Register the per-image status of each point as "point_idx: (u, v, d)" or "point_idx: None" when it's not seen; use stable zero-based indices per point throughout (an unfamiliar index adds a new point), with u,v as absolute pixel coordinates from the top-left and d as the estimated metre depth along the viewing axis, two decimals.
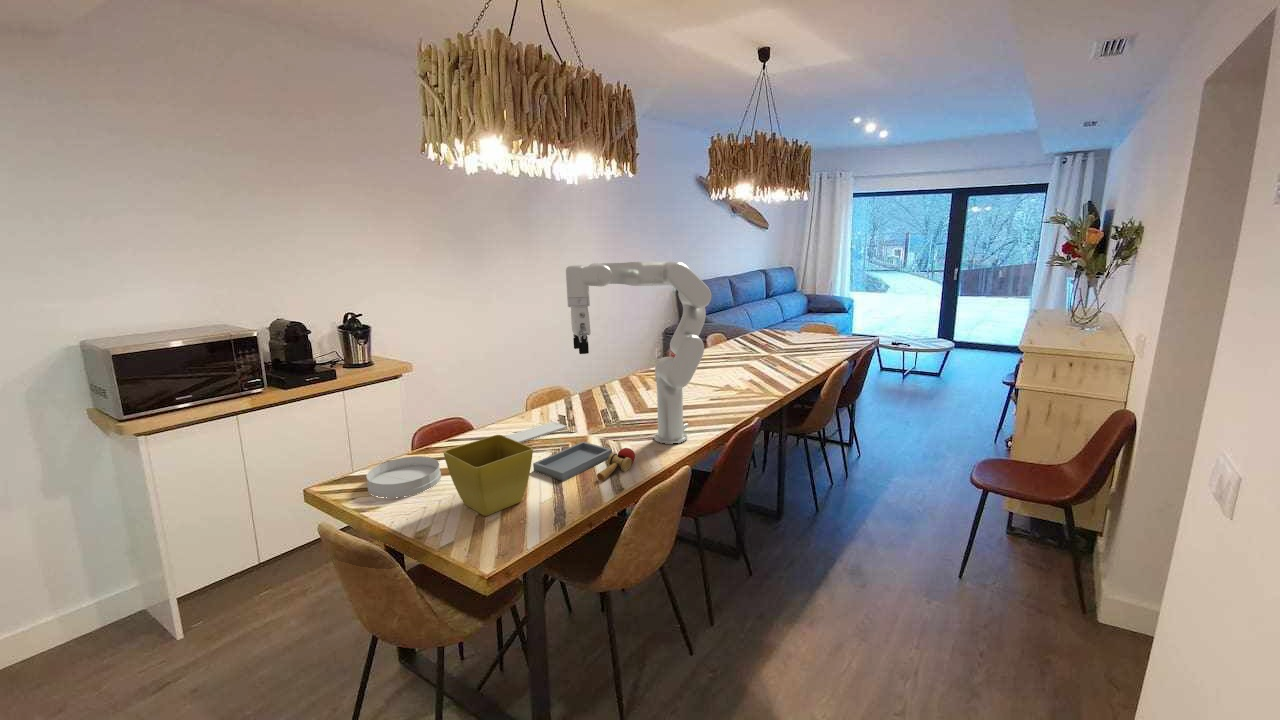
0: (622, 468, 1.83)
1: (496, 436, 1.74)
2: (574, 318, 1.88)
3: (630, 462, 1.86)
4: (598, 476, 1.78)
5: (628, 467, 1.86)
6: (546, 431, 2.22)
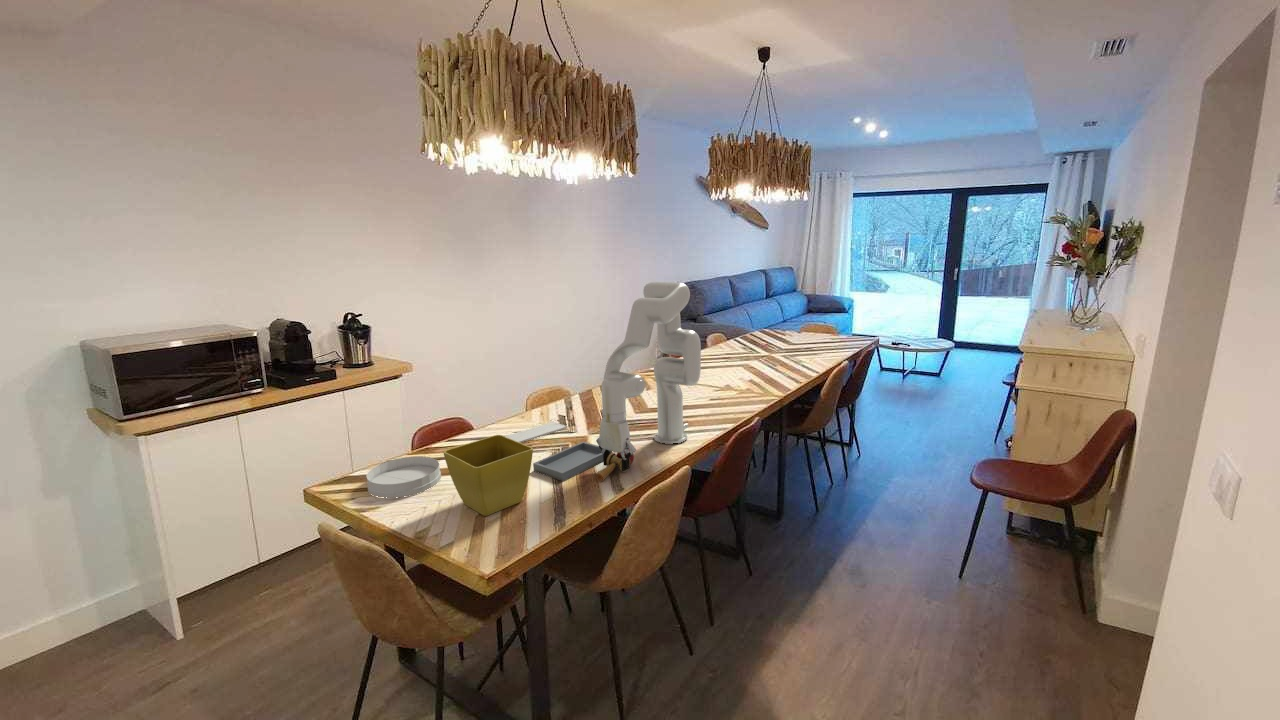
0: (621, 468, 1.82)
1: (496, 436, 1.74)
2: None
3: (629, 462, 1.85)
4: (597, 476, 1.77)
5: None
6: (546, 431, 2.22)
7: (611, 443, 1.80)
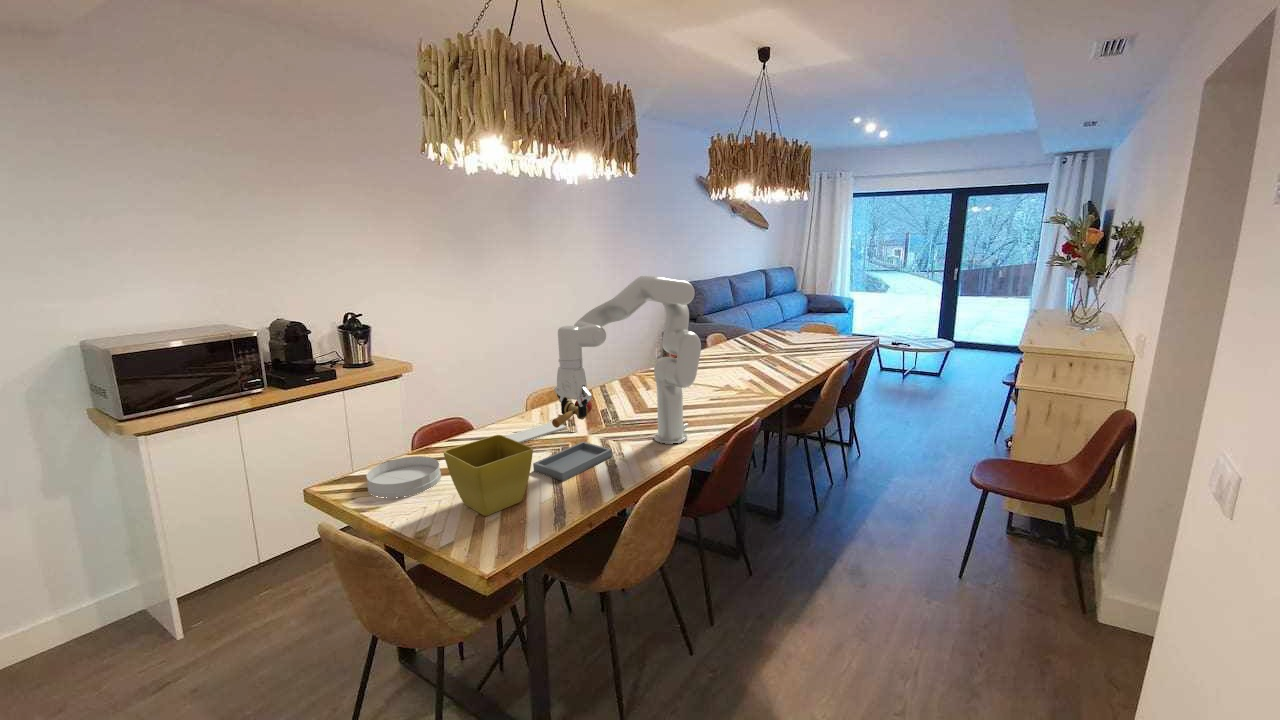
0: (578, 415, 1.85)
1: (496, 436, 1.74)
2: None
3: (586, 410, 1.88)
4: (553, 422, 1.80)
5: None
6: (546, 431, 2.21)
7: (568, 390, 1.82)
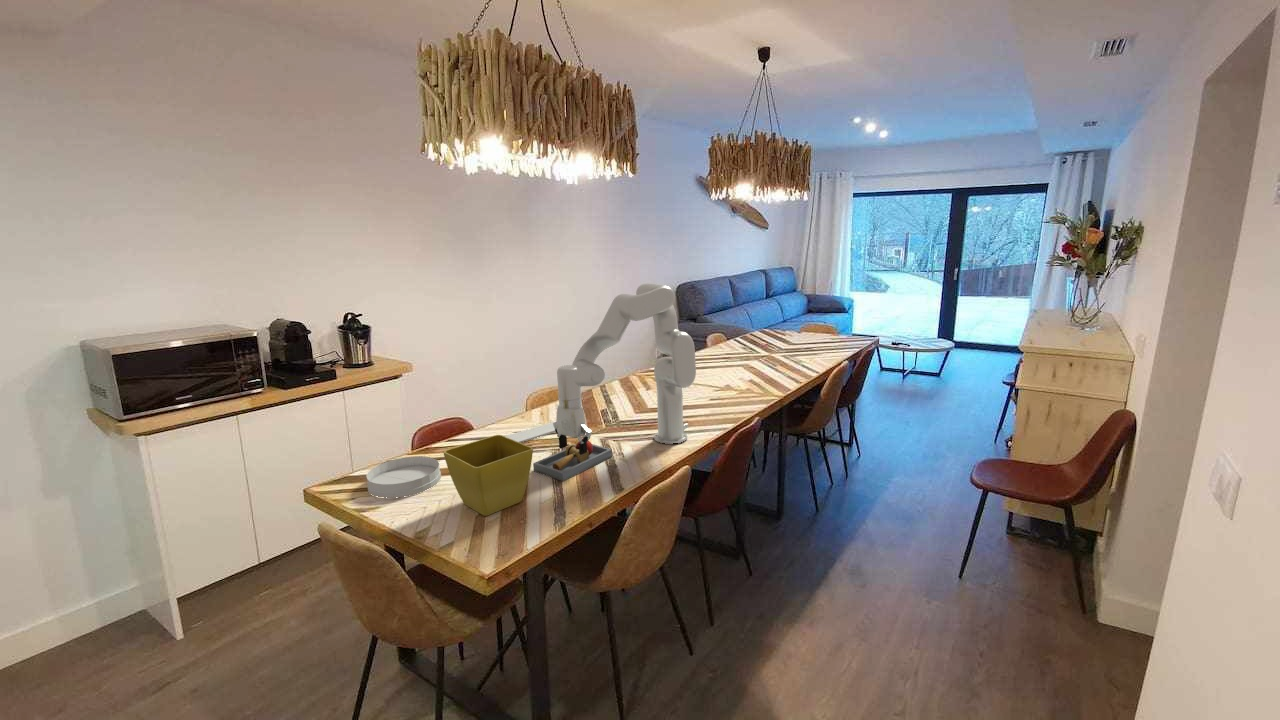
0: (578, 459, 1.88)
1: (496, 436, 1.74)
2: None
3: (587, 453, 1.91)
4: (554, 466, 1.84)
5: (585, 458, 1.91)
6: (545, 431, 2.21)
7: (567, 428, 1.86)
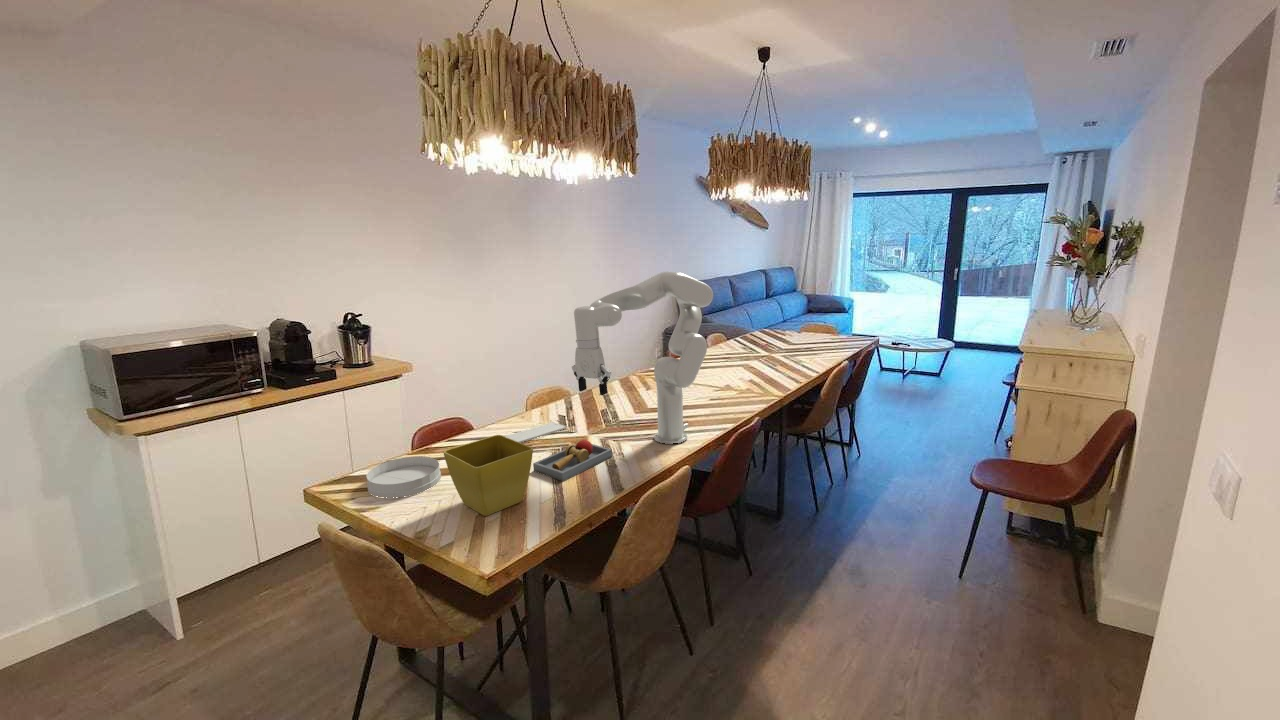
0: (578, 459, 1.88)
1: (496, 436, 1.74)
2: None
3: (587, 454, 1.91)
4: (553, 467, 1.84)
5: (585, 458, 1.91)
6: (545, 432, 2.21)
7: (586, 370, 1.86)
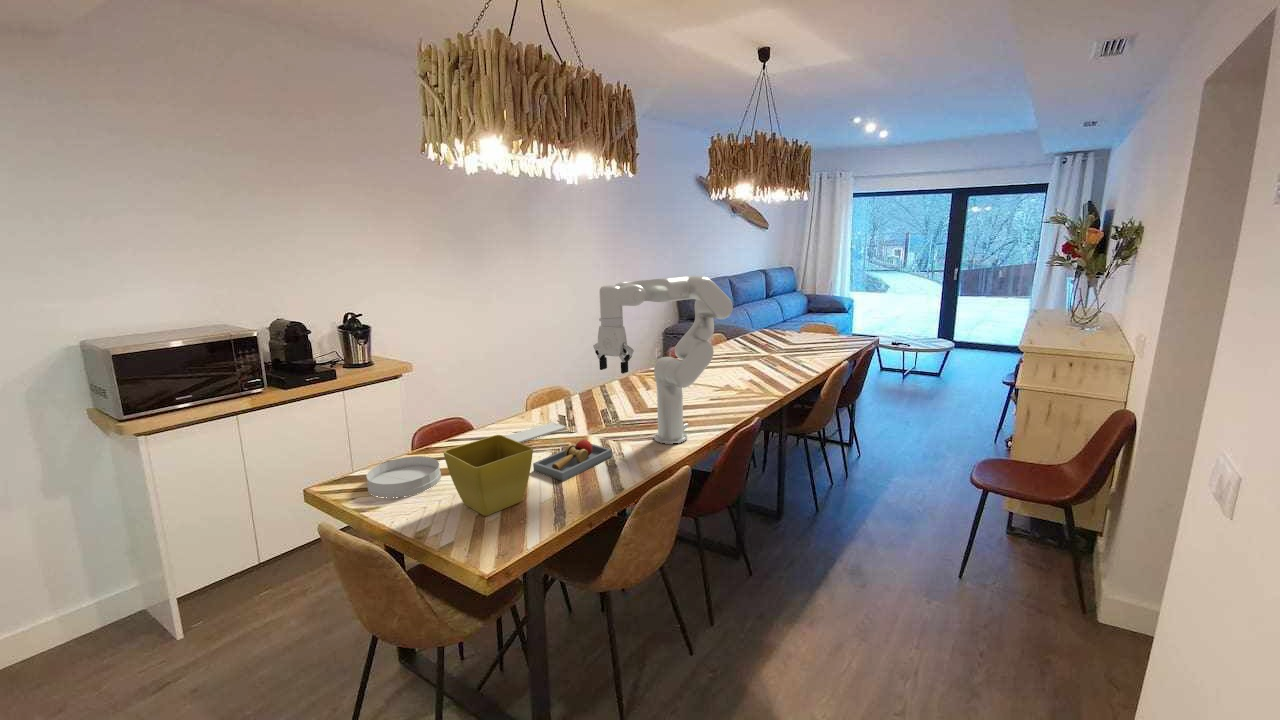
0: (578, 459, 1.88)
1: (496, 436, 1.74)
2: None
3: (586, 454, 1.91)
4: (553, 467, 1.84)
5: (584, 458, 1.91)
6: (545, 432, 2.21)
7: (609, 347, 1.89)
